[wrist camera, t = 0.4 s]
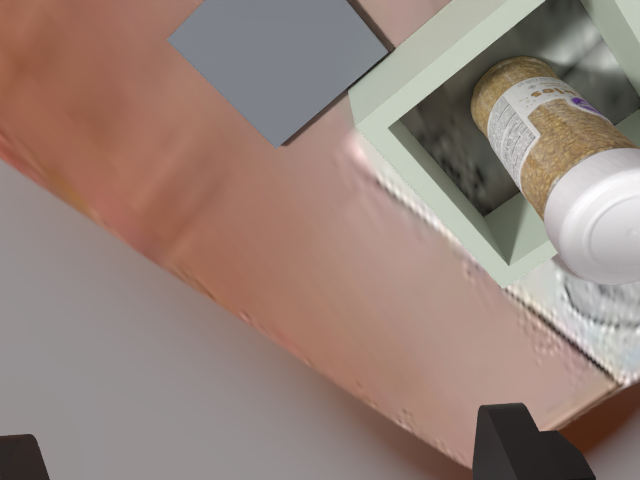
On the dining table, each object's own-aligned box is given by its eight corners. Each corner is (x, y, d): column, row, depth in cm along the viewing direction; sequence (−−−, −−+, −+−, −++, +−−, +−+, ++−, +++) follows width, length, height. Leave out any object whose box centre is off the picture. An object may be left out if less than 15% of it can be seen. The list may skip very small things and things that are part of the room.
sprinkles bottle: (569, 61, 30) (733, 182, 19) (537, 145, 33) (664, 298, 21) (482, 46, 30) (597, 161, 18) (455, 132, 32) (541, 281, 21)
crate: (555, -89, 27) (603, -80, 22) (670, 106, 32) (727, 144, 27) (347, 89, 31) (355, 126, 26) (478, 238, 36) (502, 288, 31)
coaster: (282, -80, 26) (281, -79, 26) (387, 49, 30) (388, 52, 29) (168, 37, 29) (166, 39, 29) (276, 145, 32) (276, 148, 32)
